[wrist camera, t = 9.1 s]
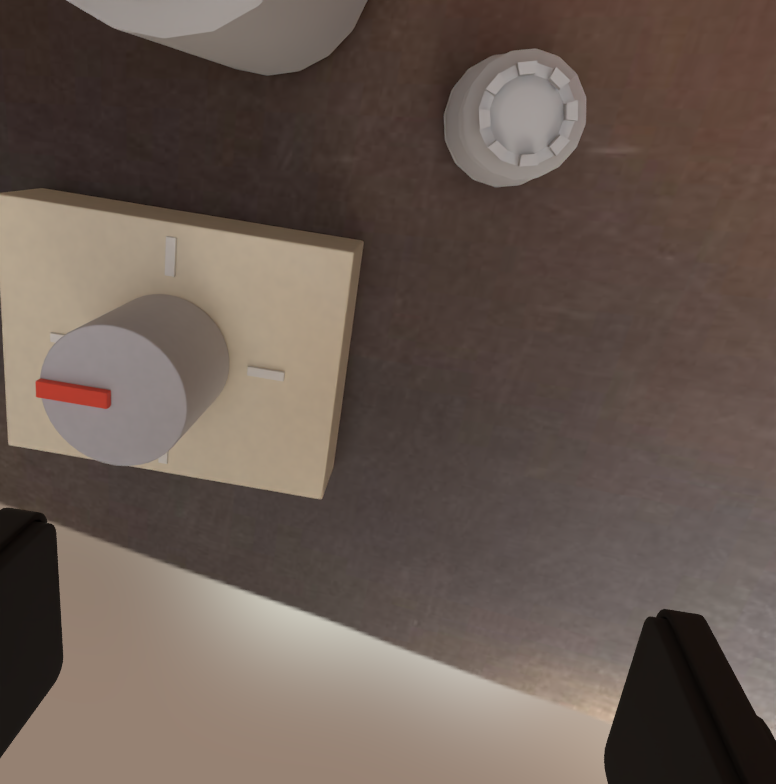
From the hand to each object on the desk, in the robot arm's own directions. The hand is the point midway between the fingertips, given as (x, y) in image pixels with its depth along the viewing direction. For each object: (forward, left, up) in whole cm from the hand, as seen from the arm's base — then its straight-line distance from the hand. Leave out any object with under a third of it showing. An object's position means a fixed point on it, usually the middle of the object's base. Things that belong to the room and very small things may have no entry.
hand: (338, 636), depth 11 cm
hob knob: (-2, +9, -15) cm, 18 cm away
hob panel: (-2, +9, -18) cm, 20 cm away
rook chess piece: (+8, -2, -19) cm, 21 cm away
